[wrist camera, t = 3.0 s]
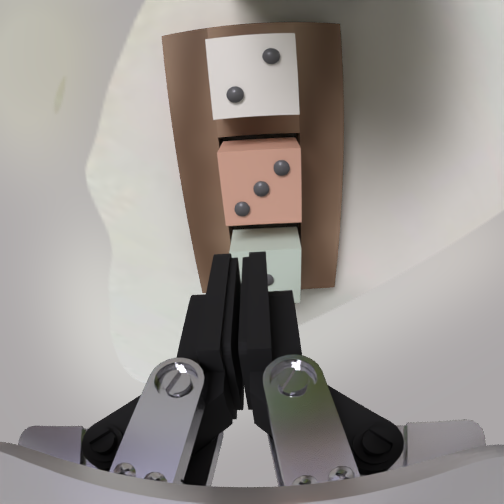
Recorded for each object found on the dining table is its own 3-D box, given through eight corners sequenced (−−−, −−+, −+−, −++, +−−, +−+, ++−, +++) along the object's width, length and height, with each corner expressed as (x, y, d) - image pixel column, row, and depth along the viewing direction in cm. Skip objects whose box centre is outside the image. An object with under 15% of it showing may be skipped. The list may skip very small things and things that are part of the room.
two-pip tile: (289, 39, 15) (295, 32, 13) (293, 108, 18) (299, 114, 15) (213, 44, 15) (204, 39, 13) (220, 113, 18) (212, 120, 15)
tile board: (332, 28, 16) (339, 23, 14) (330, 272, 27) (334, 287, 25) (170, 39, 17) (161, 36, 15) (206, 278, 27) (202, 292, 26)
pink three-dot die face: (295, 137, 19) (301, 148, 16) (296, 202, 21) (301, 223, 18) (223, 141, 19) (216, 153, 16) (230, 205, 21) (225, 227, 19)
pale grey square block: (296, 226, 22) (301, 250, 20) (296, 277, 25) (300, 304, 22) (232, 229, 22) (229, 253, 20) (239, 280, 25) (236, 306, 22)
